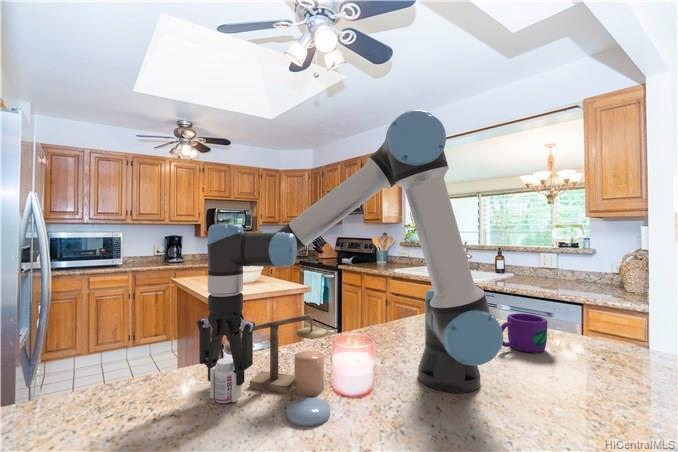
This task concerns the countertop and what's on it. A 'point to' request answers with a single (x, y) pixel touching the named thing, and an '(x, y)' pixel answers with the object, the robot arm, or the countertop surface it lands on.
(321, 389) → the tan upright cylinder
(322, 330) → the balance
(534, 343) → the mug
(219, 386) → the pill bottle
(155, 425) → the countertop surface
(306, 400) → the grey smooth pebble
